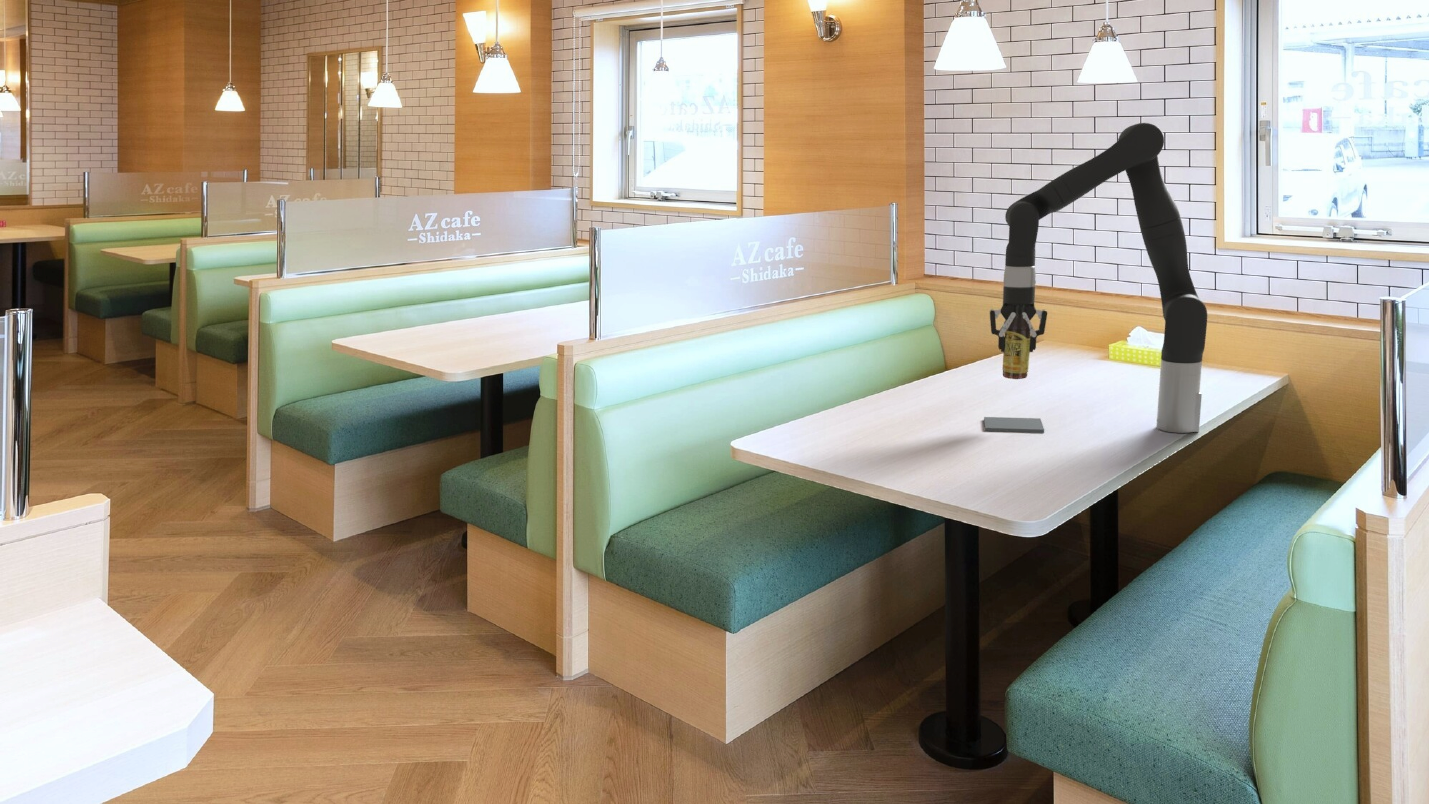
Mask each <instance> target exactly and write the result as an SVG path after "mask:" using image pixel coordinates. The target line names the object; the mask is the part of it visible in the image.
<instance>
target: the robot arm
mask: <svg viewBox="0 0 1429 804" xmlns="http://www.w3.org/2000/svg"><path fill="white" fill-rule="evenodd" d="M1164 144H1165V136H1164V133H1163V131H1162V130H1161V129H1160V127H1159V126H1157V125H1156V124H1154V123H1150V122H1140V123H1135V124H1132V125H1129V126H1128V127H1126V128H1124V129H1123V130H1122V132H1120V134H1119V136H1118V140H1117V141H1115V142H1114V144H1112V145H1111V146H1110V147H1108V148H1107V149H1105V150H1104V151H1102V152H1101V153H1099V154H1098V155H1096V156H1095V157H1092V158H1091V159H1089V160H1087V161H1085V162H1082V163H1081V164H1079V165H1077V166H1075V167H1074V168H1071V169H1069V170H1068V171H1065V172H1063V173H1062V174H1061V175H1059V176H1057V177H1056V178H1054V179H1053V180H1051V181H1049V182H1048V183H1046V184H1045V185H1043V186H1042V187H1041V188H1039V189H1038V190H1035V191H1033V192H1031V193H1029V194H1027V195H1025V196H1024V197H1021V198H1020V199H1018V200H1016V201H1015V202H1013V203H1012V204H1011V205H1010V206H1008V208H1007V209H1006V211H1005V216H1004V217H1005V221H1006V224H1007V225H1008V229H1009V231H1008V242H1007V245H1006V248H1005V258H1004V260H1005V262H1004V263H1005V264H1004V265H1005V267H1004V271H1003V272H1004V274H1003V282H1002V283H1003V285H1002V286H1003V287H1002V288H1003V291H1002V292H1003V293H1002V305H1001V308H1000V309H992V308H991V309H989V319H990V320H989V321H990V332H991V335H996V336H997V337H998V341H997V342H998V345H997V346H998V349H999V350H1000V352H1002V353H1004V341H1005V332H1006V330H1007V329H1008V327H1009V326H1010V324H1011V322H1012V321H1013V319H1014V317H1015V316H1016V314H1015V312H1013V305H1027V312H1026V313H1025V312H1023V313H1022V315H1023V319H1025V320H1026V321H1027V323H1028V324H1029V328H1030V353H1034V351H1035V350H1036V348H1037V338H1038V336H1041V335H1044V334H1045V329H1046V324H1047V318H1048V311H1047V310H1046V309H1037V308H1036V307H1035V301H1036V300H1035V299H1036V297H1035V295H1036V282H1037V281H1036V245H1037V244H1036V243H1037V237H1038V233H1039V232H1038V231H1039V224H1040V223H1039V222H1040V220H1041V219H1044V218H1045V217H1046V216H1049V215H1050V214H1052V213H1056V212H1058V211H1060V210H1063V209H1064V208H1065V207H1067V206H1069V205H1071V204H1072V203H1074V202H1075V201H1077V200H1079V199H1080V198H1082V197H1083V196H1085V195H1086V194H1088V193H1089V192H1091V191H1093V190H1094V189H1095V188H1097V187H1098V186H1100V185H1102V184H1103V183H1104V182H1106V181H1108V180H1109V179H1111V178H1113V177H1115V176H1117V175H1119V174H1120V173H1122V172H1126V176H1127V179H1128V181H1129V184H1130V187H1131V190H1132V197H1133V200H1134V201H1133V202H1134V207H1135V211H1136V216H1137V220H1138V225H1139V229H1140V233H1141V236H1142V239H1143V244H1144V247H1145V250H1146V252H1147V255H1148V258H1149V261H1150V263H1151V266H1152V269H1153V271H1154V273H1155V276H1156V279H1157V282H1158V288H1159V295H1160V300H1161V307H1162V315H1163V320H1164V331H1163V335H1164V336H1163V344H1162V348H1161V356H1160V367H1159V369H1160V370H1159V371H1160V372H1159V384H1158V385H1159V386H1158V399H1157V412H1156V413H1157V414H1156V429H1158V430H1160V431H1163V432H1167V433H1168V432H1169V433H1179V434H1181V433H1182V434H1185V433H1186V434H1188V433H1193V432H1194V433H1197V432H1198V433H1199V432H1200V421H1201V420H1200V419H1201V409H1202V398H1203V397H1202V392H1200V391H1201V382H1202V381H1201V379H1202V378H1201V377H1202V365H1203V356H1204V355H1203V354H1204V351H1205V346H1206V337H1207V328H1208V327H1207V326H1208V310H1207V306H1206V305H1205V304H1204V302H1203V301H1202V300H1201V299H1200V298H1199V296H1198V293H1197V291H1196V288H1195V285H1194V283H1193V280H1192V277H1191V273H1190V269H1189V262H1188V245H1187V240H1186V239H1187V238H1186V233H1185V229H1184V226H1183V222H1182V221H1183V220H1182V218H1181V214H1180V211H1179V209H1178V206H1177V204H1176V201H1175V200H1174V198H1173V196H1172V194H1171V192H1170V190H1169V189H1168V187H1167V185H1166V183H1165V181H1164V179H1163V175H1162V172H1161V167H1160V163H1159V158H1158V156H1159V155H1160V153H1161V151H1163V148H1164ZM1000 315H1002V317H1003V318H1004V322H1003V323H1002V325H1001V327H1000V329H998V328H997V322H996V319H998V318H999V316H1000ZM1035 315H1037V318H1038V319H1039V326H1038V329H1036V330H1035V328H1034V326H1033V324H1032V321H1031V320H1032V319H1033V318H1034V317H1035Z"/></svg>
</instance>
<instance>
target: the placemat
mask: <svg viewBox="0 0 1429 804" xmlns="http://www.w3.org/2000/svg"><path fill="white" fill-rule="evenodd" d="M983 422H984V430H985V432H1003V433H1005V432H1006V433H1007V432H1008V433H1010V432H1011V433H1037V434H1038V433H1039V434H1040V433H1043V434H1044V433H1045V428H1044V425H1043V423H1042V422H1043V421H1042V418H1041V417H1040V418H1038V417H1035V418H1033V417H1004V416H1003V417H1002V416H1001V417H1000V416H999V417H995V416H984V417H983Z"/></svg>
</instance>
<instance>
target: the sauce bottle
mask: <svg viewBox="0 0 1429 804" xmlns="http://www.w3.org/2000/svg"><path fill="white" fill-rule="evenodd" d="M1013 312H1015V314H1016V316H1015V317H1014V319H1013V321H1012V322H1011V324H1010V326H1009V327H1008V329H1007V330H1006V332H1005V334H1004V337H1005V341H1004V352H1003V356H1002V376H1003V378H1004V379H1005V378H1006V379H1010V380H1011V379H1012V380H1023V379H1026V378H1027V377H1028V372H1029V365H1030V353H1031V352H1030V336H1031V334H1030V328H1029V324H1028V323H1027V321H1026V320H1025V319H1023V315H1022V313H1023V312H1025V313H1026V312H1027V305H1013Z"/></svg>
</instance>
